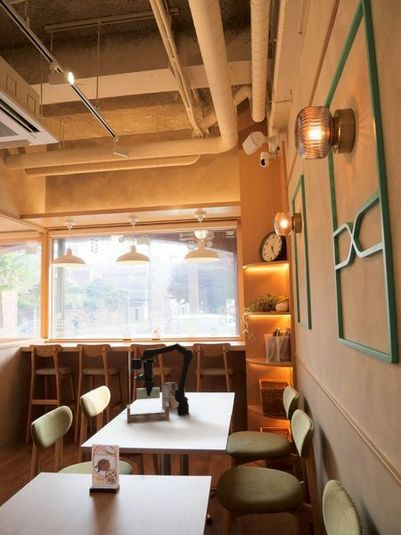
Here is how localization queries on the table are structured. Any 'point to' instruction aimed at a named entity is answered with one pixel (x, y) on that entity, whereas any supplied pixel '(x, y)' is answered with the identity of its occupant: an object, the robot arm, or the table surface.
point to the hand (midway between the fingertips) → (148, 395)
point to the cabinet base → (148, 416)
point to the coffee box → (169, 394)
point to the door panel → (143, 393)
